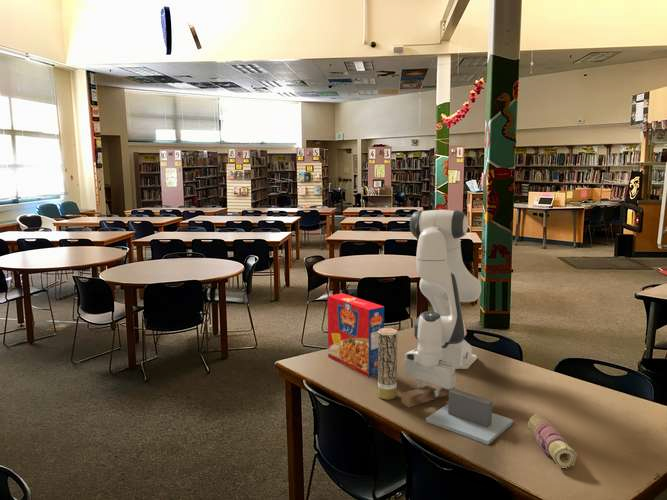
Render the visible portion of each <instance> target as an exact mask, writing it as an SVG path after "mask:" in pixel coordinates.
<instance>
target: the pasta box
mask: <svg viewBox="0 0 667 500" xmlns="http://www.w3.org/2000/svg"><path fill="white" fill-rule="evenodd" d="M382 328H385V306H384V305H381V304H377V303H375V302H371V301H367V300H365V299H362V298H359V297H356V296H352V295H350V294H346V293H343V292H341V293H336V294H330V295H327V353H328V354H327V357H328V358H329V359H331V360H332V361H333V360H334V361H335V362H337V363H339V364H342V365H344V366H346V367H347V368H350V369H351V370H353V371H355V372H357V373H359V374H362V375H363V376H365V377H368V378H371V377H373V376H378V330H379V329H382Z"/></svg>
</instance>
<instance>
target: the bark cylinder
mask: <svg viewBox="0 0 667 500" xmlns="http://www.w3.org/2000/svg"><path fill="white" fill-rule="evenodd" d="M397 376H398V330H397V329H395V328H391V327H384V328H382V329H379V330H378V375H377V395H378V398H380V399H382V400H389V401H390V400H394V399H395V398H396V397H397V385H398V384H397V383H398V382H397V380H398V377H397Z"/></svg>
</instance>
